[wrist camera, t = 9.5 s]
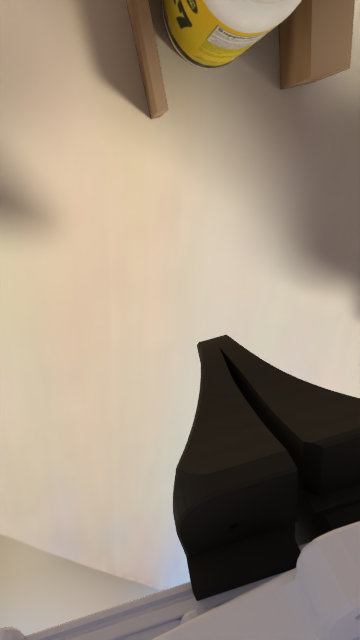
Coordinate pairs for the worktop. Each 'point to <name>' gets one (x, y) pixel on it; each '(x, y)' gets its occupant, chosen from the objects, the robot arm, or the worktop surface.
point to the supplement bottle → (220, 27)
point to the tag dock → (295, 45)
